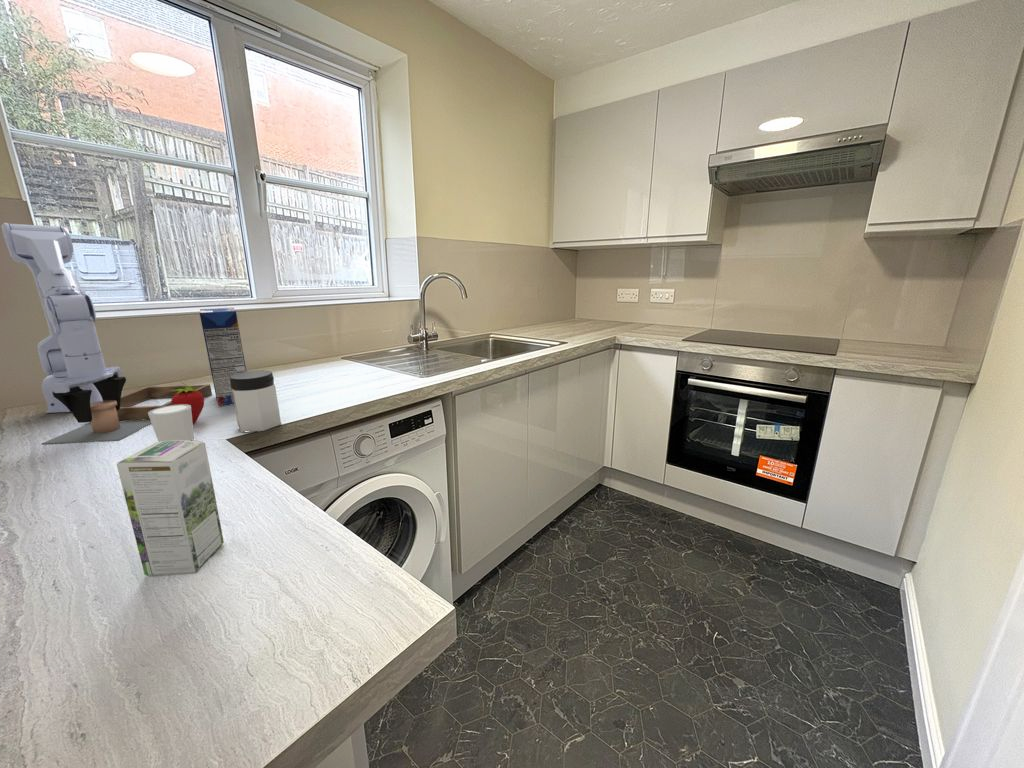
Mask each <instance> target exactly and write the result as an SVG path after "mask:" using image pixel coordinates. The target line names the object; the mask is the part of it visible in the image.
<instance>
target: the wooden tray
mask: <svg viewBox="0 0 1024 768" xmlns="http://www.w3.org/2000/svg"><path fill="white" fill-rule="evenodd" d="M186 385H187V387H191V388H198V389H195V390H196V391H199V392H200V393H202V395H203V397H204V398H205V399H206V397H207V398H208V397H210V396H212V395H213V392H212V387H211V384H208V383H207V384H186ZM186 385H185V384H181V385H153V386H144V387H141V388H139V389H136V390H134V391H132V392H128V393H126V394H124V395H121V400H120V410H116V411H117V414H118V418H119V421H124V420H126V421H138V420H142V419H148V420H150V418H149V415H148V412H149V411H151V410H153V409H157V408H160V407H164V406H170V405H172V404H171V400H170V401H168V402H166V403H164V404H162V405H143V406H139V405H138V404H140V403H141V402H144V401H146V400H149V399H153V398H154V399H155V398H156V399H157V398H172V397H173V396H174V395H175V394H177V393H178V392H179V391H171V390H177V389H185V388H186ZM135 405H138V406H135Z"/></svg>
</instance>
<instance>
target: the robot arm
mask: <svg viewBox="0 0 1024 768" xmlns="http://www.w3.org/2000/svg"><path fill="white" fill-rule="evenodd" d="M0 227H1V231H2V236H3V238H4V242H5V244H6V247H7V250H8V253H9V256H10V258H12V260H13V262H14V263H15V262H16V263H20V264H24V265H26V266H27V268H28V269H29V271H30V272H31V274H32V277H33V280H34V283H35V285H36V286H35V287H36V290H37V292H38V297H39V300H40V303H41V307H42V310H43V313H44V318H45V320H46V323H47V327H48V330H49V335H48V336H46V337H45V338H43V340H41V341H39V342H38V343H37V346H36V348H37V351H38V357H39V360H40V361H39V362H40V364H41V367H42V370H43V372H44V374H46V375H47V376H46V377H45V378H43V379H42V382H41V390H42V393H43V396H44V400H45V403H46V407H47V409H48V410H45V413H46V414H49V413H50V414H51V413H55V414H56V413H71V414H72V416H73V417H74V419H75V420H76V421H77V423H79V424H81V423H91V421H92V413H91V408H90V403H92V402H97V401H103V400H116V401H117V406H115V407H116V410H120V400H121V396H122V393H123V389H124V385H125V383H126V381H127V377H126V376H122V370H121V366H110V367H106V362H105V359H104V355H103V351H102V347H101V345H100V340H99V336H98V332H97V328H96V325H95V323H94V322H96V320H97V319H96V318H97V314H96V309H95V305H94V302H93V301H92V299H91V297H90V296H89V294H88V293H87V292H86V291H85V290H84V291H83V289H82V286H81V284H80V282H79V279H78V278H77V275H76V274H74V272H72V271H70V270H69V269H66V266H65V264H68V263H71V261H72V259H73V254H74V245H73V240H72V237H71V234H70V232H69V230H68V228H67V227H65V226H64V225H59V226H57V225H39V224H38V225H37V224H23V223H22V224H20V223H19V224H18V223H9V222H3V223H2V224H1V225H0Z"/></svg>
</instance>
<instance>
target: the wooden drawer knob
mask: <svg viewBox="0 0 1024 768" xmlns="http://www.w3.org/2000/svg"><path fill="white" fill-rule="evenodd" d="M115 406H117V401H116V400H103V401H97V402H92V403H90V408H91V413H92V421H91V422H90V423H91V426H92V429H93V433H106V432H111V431H115V430H118V429H120V428H121V426H120V422H119V418H118V414H117V411H116V407H115Z"/></svg>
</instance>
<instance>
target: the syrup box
mask: <svg viewBox="0 0 1024 768" xmlns="http://www.w3.org/2000/svg"><path fill="white" fill-rule="evenodd" d="M116 467H117V470H118V471H117V472H118V475H119V479H120V483H121V487H122V491H123V495H124V499H125V503H126V507H127V510H128V511H127V512H128V515H129V518H130V523H131V527H132V531H133V534H134V537H135V542H136V545H137V551H138V554H139V557H140V562H141V566H142V570H143V574H144V576H148V577H149V576H166V575H168V576H170V575H181V574H182V575H183V574H185V575H186V574H196V573H197V572H198V571H199V570H200V569H201V568H203V566H204V565H205V564H206V563H207V562H208V560H210V558H211V557H212V556H213V555H214V554H215V553H216V552H217V551H218V550H219V549H220V547H222V546H223V544H224V542H225V541H224V536H223V530H222V525H221V520H220V515H219V510H218V505H217V499H216V493H215V488H214V483H213V482H214V481H213V477H212V472H211V468H210V467H211V466H210V462H209V457H208V452H207V446H206V443H205V442H204V441H197V440H192V441H188V440H173V441H161V442H158V441H156V442H153V443H152V444H150V445H148V446H146V447H145V448H142V449H140V450H139V451H137V452H135V453H133V454H131V455H129V456H127V457H126V458H123V459H122V460H120V461H118V462H117V463H116Z"/></svg>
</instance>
